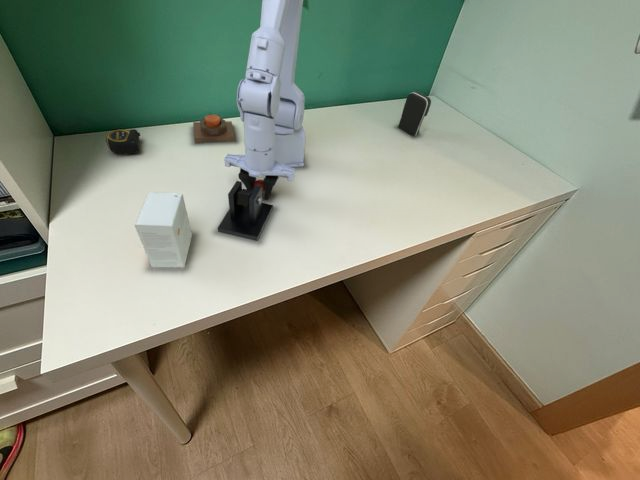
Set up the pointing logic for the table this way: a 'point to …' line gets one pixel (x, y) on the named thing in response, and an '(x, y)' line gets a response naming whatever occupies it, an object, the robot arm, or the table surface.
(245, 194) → the lever
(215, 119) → the button
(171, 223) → the small box
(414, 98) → the battery charger
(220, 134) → the button block
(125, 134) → the tape measure
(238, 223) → the lever bracket
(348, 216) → the table surface
